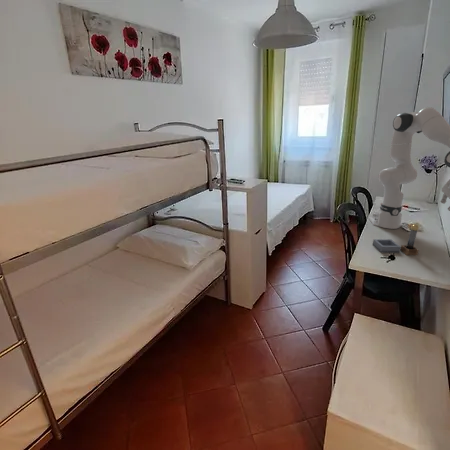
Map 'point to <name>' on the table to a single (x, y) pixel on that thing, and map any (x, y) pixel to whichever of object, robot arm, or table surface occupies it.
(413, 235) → the pin
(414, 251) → the collar
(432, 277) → the table surface
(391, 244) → the tray
